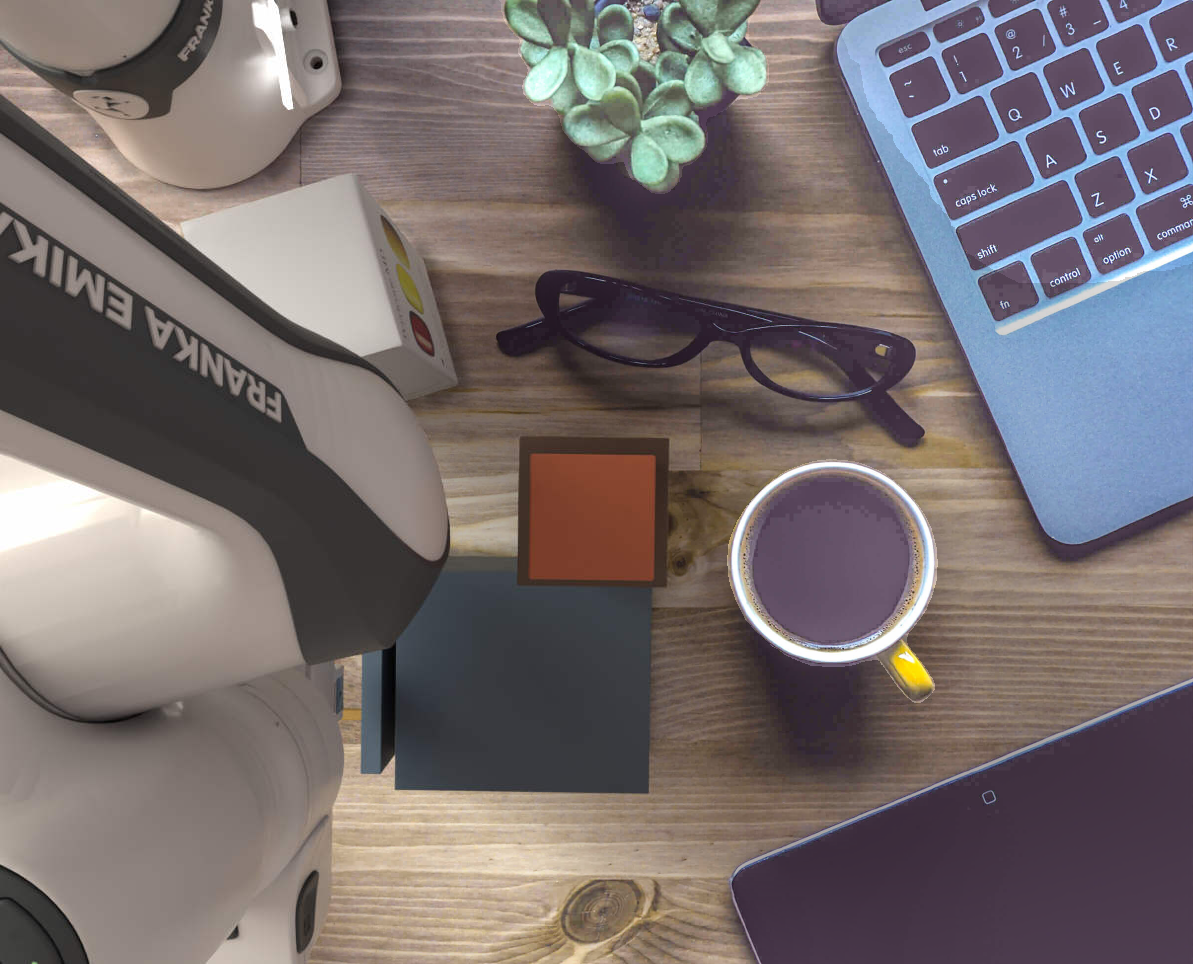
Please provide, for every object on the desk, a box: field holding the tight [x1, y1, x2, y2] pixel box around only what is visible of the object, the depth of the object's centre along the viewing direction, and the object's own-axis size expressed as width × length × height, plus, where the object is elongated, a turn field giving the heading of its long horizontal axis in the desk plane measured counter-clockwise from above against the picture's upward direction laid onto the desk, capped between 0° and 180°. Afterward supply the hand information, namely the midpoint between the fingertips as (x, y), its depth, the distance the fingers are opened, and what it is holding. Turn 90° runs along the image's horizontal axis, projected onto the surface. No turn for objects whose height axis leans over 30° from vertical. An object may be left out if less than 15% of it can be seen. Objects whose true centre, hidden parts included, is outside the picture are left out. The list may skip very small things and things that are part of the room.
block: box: [529, 454, 656, 581], centre depth 33 cm, size 4×4×4 cm
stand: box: [516, 435, 670, 589], centre depth 48 cm, size 6×6×25 cm
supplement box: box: [179, 171, 459, 402], centre depth 52 cm, size 10×9×17 cm
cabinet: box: [394, 555, 653, 795], centre depth 56 cm, size 15×13×10 cm
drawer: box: [340, 642, 396, 775], centre depth 56 cm, size 18×11×8 cm, turn 89°
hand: (329, 689), depth 50 cm, fingers closed
